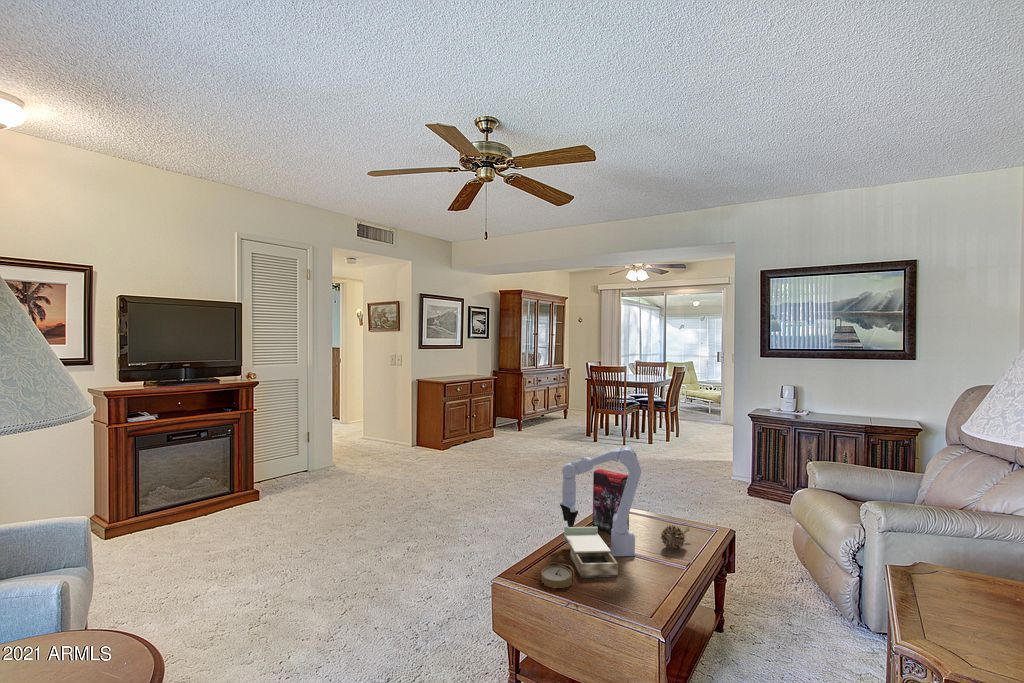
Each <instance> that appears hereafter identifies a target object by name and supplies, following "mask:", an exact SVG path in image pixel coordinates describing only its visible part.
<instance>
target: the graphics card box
mask: <svg viewBox="0 0 1024 683" xmlns="http://www.w3.org/2000/svg"><path fill="white" fill-rule="evenodd" d="M592 474H593V478H592V479H593V480H592V482H593V484H592V487H593V489H592V526H591V527H598V531H599V530H600V531H603V532H606V533H609V534H611V529H612V528H613V527H612V525H613V516H614V514H615V513H616V512H617V510H618V507H619V505H620V502H621V498H622V495H623V492H624V488H625V485H626V482H627V478H628V475H629V474H623V473H619V472H615V471H611V470H606V469H604V468H602V469H601V468H600V469H595V470H594V471H593V473H592ZM628 530H629V531H630V516H629V517H628Z"/></svg>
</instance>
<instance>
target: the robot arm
mask: <svg viewBox="0 0 1024 683" xmlns="http://www.w3.org/2000/svg"><path fill="white" fill-rule="evenodd" d="M610 461H613V462H616V463H619V461H620V463H621V464H622V465H623V466H625V467H626V469H627V471H628V472H629V473H628V474H627V475H628V478H627V482H626V485H625V488H624V492H623V495H622V498H621V502H620V505H619V507H618V510H617V512H616V513H615V514H614V516H613V525H612V527H613V528H612V529H611V533H610V534H611V537H610V547H608V548H609V549H610V550H611V552H610V553H611V555H612V556H613V557H635V556H636V537H635V533H634V531H633V530H630V529H629V530H628V517H629V518H630V511H631V508H632V506H633V501H634V499H635V494H636V491H637V489H638V485H639V482H640V478H641V474H642V468H641V465H640V462H639V459H638V456H637V453H636V451H634V449H633V447H631V446H628V445H624V446H622V447H617V448H614V449H611V450H608V451H606V452H603V453H601V454H599V455H595V456H594V457H589V456H581V458H580V459H576V460H571V461H570V462H567V463H565V464H564V465H563V468H562V470H561V473H562V483H561V484H562V486H561V488H562V490H561V492H562V493H561V494H562V497H561V500H562V501H559V505H560V508H561V511H562V517H563V521H564V522H567V526H568V527H575V522H576V519H577V516H578V514H579V511H578V509H577V510H576V505H577V501H576V500H577V499H576V496H577V495H576V494H577V490H576V489H577V480H576V475H581V474H583V473H586V472H590V471H592V470H593V468H594V467H595V466H598V465H600V464H603V463H607V462H610Z"/></svg>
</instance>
